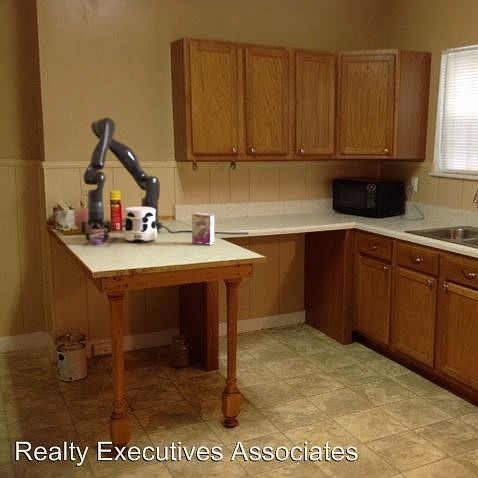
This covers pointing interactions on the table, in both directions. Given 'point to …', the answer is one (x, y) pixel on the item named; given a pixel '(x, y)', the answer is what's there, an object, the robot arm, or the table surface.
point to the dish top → (103, 235)
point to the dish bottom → (100, 238)
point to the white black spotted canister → (140, 224)
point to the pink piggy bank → (81, 217)
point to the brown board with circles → (102, 242)
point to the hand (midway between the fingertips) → (96, 240)
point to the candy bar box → (202, 228)
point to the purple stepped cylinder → (96, 241)
